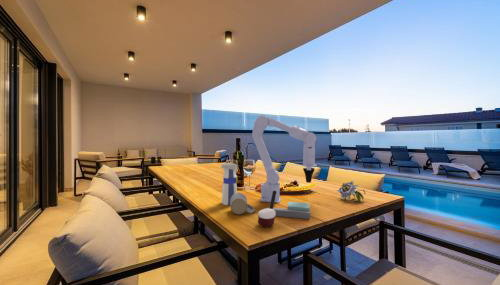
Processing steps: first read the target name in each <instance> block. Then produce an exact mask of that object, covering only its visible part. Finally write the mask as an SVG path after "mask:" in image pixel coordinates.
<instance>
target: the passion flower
mask: <svg viewBox="0 0 500 285" xmlns="http://www.w3.org/2000/svg"><path fill="white" fill-rule="evenodd" d="M357 188H359V184H355V185H354V180H351V181H349V182H343V183H342V184H341V186H340V187H339V189H338V190H336V192H337V193H340V198H342V200H343V201H345V200H346V199H347V200H350V199H351V196H353V197H354V199H357V202H359V203H361V199H362V200H364V195H366V191H365V189H360V190H358V189H357ZM360 191H363V193H364V195H363V194H362V193H361V192H360Z"/></svg>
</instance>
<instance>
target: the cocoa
mask: <svg viewBox="0 0 500 285" xmlns="http://www.w3.org/2000/svg"><path fill="white" fill-rule="evenodd" d="M275 196H276V191H273V193H272V198H271V202H269V206H268V208H263V209H261V210H259V211H258V213H257V216H258V217H257V219H258V221H257V224H258V225H259V226H261V227H263V228H270V227H272V226H273V225H274V223H275V221H276V216H275V215H276V213H275V210H274V209H273V208H274V205H275V202H274V201H275Z"/></svg>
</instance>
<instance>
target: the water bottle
mask: <svg viewBox="0 0 500 285" xmlns="http://www.w3.org/2000/svg"><path fill="white" fill-rule="evenodd" d="M236 156H237V158H239V153H238V152H237V154H236ZM221 168H222V169H223V174H222V178H223V180H222V185H221V186H222V188H221V189H222V190H221V191H222V192H221V193H222V194H221V204H222V205H224V206H230V198H231V197H232V195H233V194H235V193H238V191H237V190H238V189H237V188H238V186H237V184H238V175H237V173H236V172H237V168H238V164H236V163H234V162H233V163H232V162H231V163H230V162H228V163H227V162H224V163H222V164H221Z"/></svg>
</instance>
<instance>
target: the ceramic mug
mask: <svg viewBox="0 0 500 285" xmlns="http://www.w3.org/2000/svg"><path fill="white" fill-rule="evenodd" d="M229 206H230V210H231V211H232V213H234V214H235V215H237V216H239V215H240V216H241V215H243V214H245V212H247V213H250V214H254V212H255V208H254V206H252V205H250V204H248V200H247V197H246V195H245V194H243V193H241V192H237V193H235V194H233V195H232V197H231V198H230V205H229Z"/></svg>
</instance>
